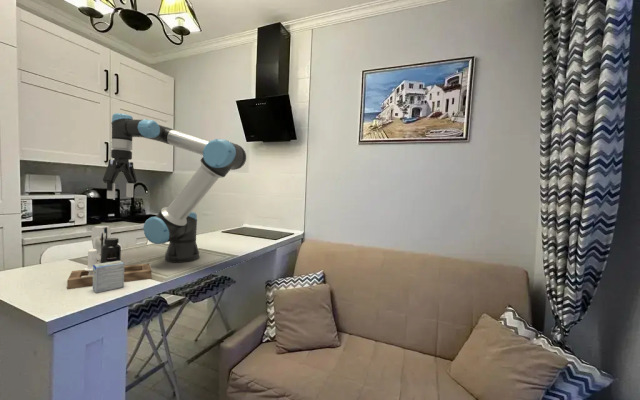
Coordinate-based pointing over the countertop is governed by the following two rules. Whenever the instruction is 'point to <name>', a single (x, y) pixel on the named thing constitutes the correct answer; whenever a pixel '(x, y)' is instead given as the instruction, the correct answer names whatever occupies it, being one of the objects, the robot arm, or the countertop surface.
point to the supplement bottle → (110, 250)
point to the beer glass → (100, 237)
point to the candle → (91, 260)
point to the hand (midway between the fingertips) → (120, 198)
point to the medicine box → (108, 276)
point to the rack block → (130, 274)
